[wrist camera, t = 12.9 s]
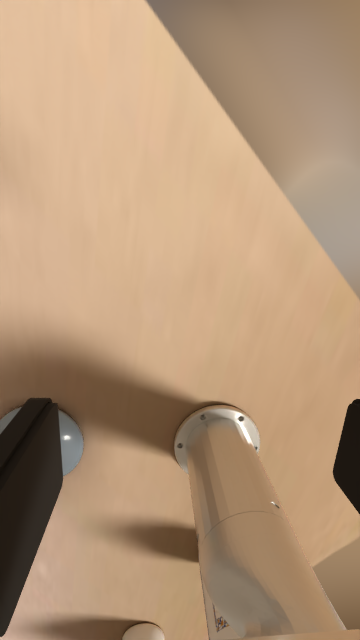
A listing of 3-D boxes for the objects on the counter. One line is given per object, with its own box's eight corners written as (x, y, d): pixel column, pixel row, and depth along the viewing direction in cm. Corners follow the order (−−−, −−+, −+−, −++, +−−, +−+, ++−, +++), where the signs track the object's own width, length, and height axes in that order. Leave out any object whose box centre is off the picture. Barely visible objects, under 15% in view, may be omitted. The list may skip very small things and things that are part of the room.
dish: (100, 454, 42) (98, 460, 40) (27, 487, 42) (23, 494, 41) (56, 387, 38) (53, 392, 37) (-22, 424, 39) (-27, 429, 38)
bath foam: (227, 569, 49) (271, 778, 30) (191, 560, 48) (213, 770, 29) (245, 540, 48) (304, 739, 29) (209, 529, 47) (244, 730, 28)
